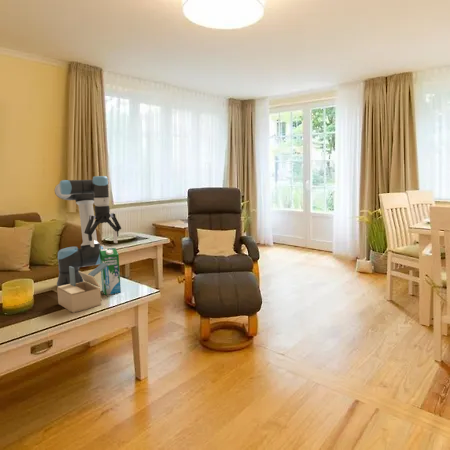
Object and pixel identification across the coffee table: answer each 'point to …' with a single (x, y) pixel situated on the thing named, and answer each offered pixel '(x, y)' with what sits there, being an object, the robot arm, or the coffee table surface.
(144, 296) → the coffee table surface
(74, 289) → the flap
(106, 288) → the milk carton
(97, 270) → the flap
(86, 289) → the carton box
